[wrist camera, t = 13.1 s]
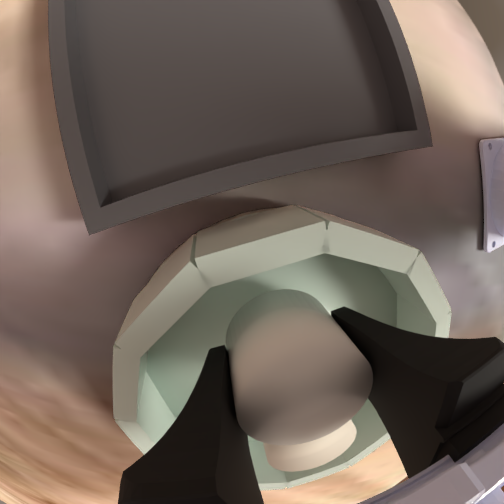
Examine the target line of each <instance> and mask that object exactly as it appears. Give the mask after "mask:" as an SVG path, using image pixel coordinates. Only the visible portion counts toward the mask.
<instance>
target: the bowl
mask: <svg viewBox="0 0 504 504" xmlns="http://www.w3.org/2000/svg"><path fill="white" fill-rule="evenodd" d="M280 289H293V290H299V291H302V292H305V293H308V294H310V295H311V296H313V297H315V298H316V299H317V300H318V301H319V302H320V303H321V304H322V305H323V306H324V308H325V309H326V310H327V311H328V312H329V314H330V315H331V311H333V310H335V309H338V308H341V307H343V306H345V307H347V308H350V309H352V310H354V311H356V312H359V313H361V314H363V315H366V316H368V317H370V318H372V319H375V320H377V321H380V322H382V323H385V324H388V325H390V326H393V327H396V328H400V329H403V330H406V331H410V332H414V333H418V334H423V335H428V336H434V337H442V338H448V335H449V329H450V321H451V313H452V312H451V311H450V310H451V308H450V305H449V303H448V301H447V299H446V297H445V295H444V293H443V291H442V289H441V287H440V285H439V283H438V281H437V279H436V277H435V275H434V273H433V272H432V270H431V268H430V266H429V264H428V262H427V260H426V259H425V257H424V255H423V253H422V252H421V251H419V249H416V248H414V247H412V246H410V245H408V244H406V243H404V242H402V241H399V240H397V239H395V238H393V237H391V236H388V235H386V234H384V233H382V232H380V231H377V230H375V229H373V228H370V227H367V226H364V225H361V224H358V223H354V222H351V221H348V220H345V219H342V218H339V217H337V216H334V215H332V214H329V213H326V212H321V211H317V210H313V209H309V208H306V207H303V206H299V205H296V206H294V205H289V206H285V207H281V208H266V209H260V210H256V211H251V212H246V213H242V214H239V215H236V216H233V217H230V218H228V219H225V220H222V221H220V222H218V223H216V224H214V225H212V226H210V227H208V228H206V229H203V230H200V231H197V234H196V235H195V234H193V235H192V236H191V237H190V238H189V239H188V240H187V241H186V242H184V243H183V244H182V245H180V246H179V247H178V248H177V249H176V250H175V251H174V252H173V253H172V254H171V255H170V256H169V257H168V258H167V259H166V260H165V261H164V262H163V263H162V264H161V266H160V267H159V268H158V269H157V271H156V272H155V273H154V275H153V276H152V277H151V279H150V281H149V283H148V284H147V285H146V286H145V287H144V288H143V289H142V291H141V292H140V293H139V294H138V295H137V296H136V297H135V299H134V300H133V302H132V305H131V307H130V309H129V311H128V313H127V316H126V318H125V320H124V322H123V325H122V327H121V329H120V331H119V334H118V336H117V338H116V341H115V343H114V346H113V415H114V419H115V422H116V423H117V424H118V425H119V427H120V428H121V429H122V430H123V431H124V433H125V434H126V435H127V436H128V437H129V438H130V440H131V441H132V442H133V443H134V444H135V445H136V446H137V447H138V448H139V450H140V451H141V452H142V453H143V454H144V455H145V454H146V453H147V452H148V451H149V450H150V449H151V448H152V447H153V446H154V445H155V444H156V443H157V442H158V441H159V440H160V439H161V438H162V436H163V435H164V434H165V433H166V432H167V430H168V429H169V428H170V427H171V425H172V424H173V423H174V421H175V420H176V418H177V417H178V415H179V414H180V412H181V411H182V409H183V408H184V406H185V404H186V402H187V401H188V399H189V397H190V395H191V393H192V391H193V389H194V387H195V385H196V382H197V380H198V378H199V375H200V373H201V370H202V368H203V365H204V363H205V360H206V357H207V354H208V351H209V349H210V348H214V347H218V346H221V345H225V347H226V342H225V341H226V332H227V329H228V326H229V323H230V321H231V320H232V318H233V316H234V315H235V314H236V312H237V311H238V310H239V309H240V308H241V307H242V306H243V305H244V304H246V303H247V302H248V301H250V300H251V299H253V298H254V297H256V296H259V295H261V294H263V293H266V292H269V291H273V290H280ZM351 420H352V422H353V424H354V425H355V427H356V431H357V433H356V437H355V440H354V441H353V443H352V444H351V446H350V447H349V448H348V449H347V450H346V451H345V452H344V453H342V454H341V455H340V456H338V457H337V458H335V459H334V460H332V461H330V462H328V463H326V464H324V465H321V466H319V467H316V468H312V469H308V470H303V471H294V472H289V471H281V470H277V469H275V468H273V467H272V466H271V465H269V463H268V461H267V457H266V453H265V449H264V445H263V442H260V441H258V440H255V439H254V438H252V437H250V436H249V435H248V442H249V449H250V454H251V458H252V462H253V466H254V470H255V474H256V477H257V481H258V485H259V488H260V490H277V489H285V488H286V487H287V488H291V487H294V486H298V485H301V484H304V483H308V482H311V481H314V480H317V479H320V478H323V477H325V476H328V475H331V474H334V473H336V472H339V471H341V470H344V469H346V468H349V466H352V465H354V464H355V463H357V462H358V461H360V460H361V459H363V458H364V457H366V456H367V455H369V454H370V453H371V452H373V451H374V450H376V449H377V448H378V447H380V446H381V445H382V444H384V443H385V442H386V441H388V440H389V439H390V436H389V434H388V432H387V430H386V428H385V426H384V424H383V422H382V420H381V419H380V417H379V415H378V413H377V411H376V409H375V408H374V406H373V405H372V403H371V402H370V400H369V399H368V398H367V400H366V402H365V404H364V405H363V406H362V408H361V409H360V410H359V411H358V413H357V414H356V415H355V416H354V417H353V418H352V419H351Z"/></svg>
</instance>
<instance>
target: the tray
mask: <svg viewBox="0 0 504 504" xmlns="http://www.w3.org/2000/svg"><path fill="white" fill-rule="evenodd" d="M48 32H49V51H50V64H51V74H52V82H53V90H54V97H55V104H56V110H57V116H58V121H59V127H60V132H61V137H62V141H63V146H64V150H65V155H66V159H67V163H68V167H69V171H70V175H71V178H72V182H73V186H74V189H75V193H76V196H77V199H78V203H79V206H80V209H81V212H82V215H83V218H84V221H85V224H86V227H87V230H88V233H89V235H91V234H94V233H97V232H99V231H102V230H105V229H108V228H110V227H113V226H116V225H119V224H122V223H125V222H128V221H130V220H133V219H136V218H139V217H142V216H145V215H148V214H151V213H154V212H157V211H160V210H164V209H167V208H170V207H173V206H176V205H179V204H183V203H186V202H189V201H193V200H196V199H199V198H203V197H206V196H209V195H213V194H216V193H220V192H223V191H227V190H231V189H234V188H238V187H241V186H245V185H249V184H253V183H257V182H260V181H264V180H268V179H272V178H276V177H280V176H284V175H288V174H293V173H297V172H301V171H305V170H310V169H314V168H319V167H323V166H328V165H332V164H337V163H342V162H347V161H352V160H357V159H362V158H367V157H372V156H377V155H383V154H389V153H394V152H400V151H406V150H412V149H419V148H425V147H432V146H433V145H432V139H431V133H430V128H429V123H428V118H427V114H426V109H425V105H424V101H423V97H422V93H421V89H420V85H419V82H418V78H417V74H416V71H415V68H414V65H413V61H412V58H411V55H410V52H409V49H408V46H407V44H406V41H405V38H404V35H403V33H402V30H401V28H400V25H399V22H398V20H397V18H396V15H395V13H394V11H393V8H392V6H391V4H390V2H389V0H48Z"/></svg>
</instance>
